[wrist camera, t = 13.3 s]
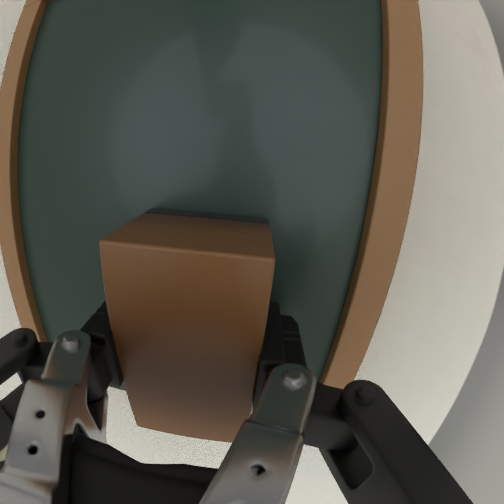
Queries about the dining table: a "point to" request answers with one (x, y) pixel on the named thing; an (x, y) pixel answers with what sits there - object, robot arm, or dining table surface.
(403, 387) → the dining table surface
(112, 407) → the dining table surface
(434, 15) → the dining table surface
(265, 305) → the eraser
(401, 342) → the dining table surface
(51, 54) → the slate board
